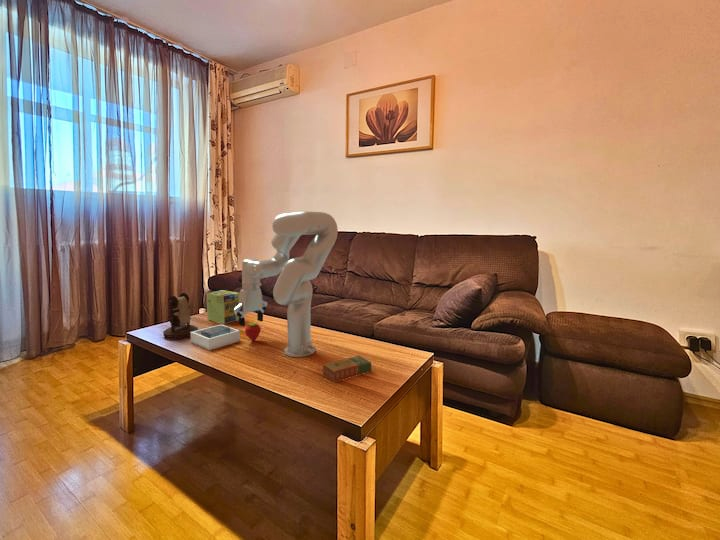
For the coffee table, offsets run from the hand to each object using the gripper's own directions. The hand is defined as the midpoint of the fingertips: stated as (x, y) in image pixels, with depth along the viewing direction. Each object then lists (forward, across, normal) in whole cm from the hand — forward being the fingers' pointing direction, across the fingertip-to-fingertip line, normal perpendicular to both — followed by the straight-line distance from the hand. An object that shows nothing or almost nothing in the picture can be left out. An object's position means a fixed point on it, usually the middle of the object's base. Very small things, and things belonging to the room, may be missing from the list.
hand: (251, 323), depth 157 cm
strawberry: (+8, 0, +1) cm, 9 cm away
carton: (+7, -1, +56) cm, 56 cm away
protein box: (+10, -11, -40) cm, 43 cm away
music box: (+10, +16, -33) cm, 38 cm away
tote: (+9, +11, -11) cm, 18 cm away
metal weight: (+8, +11, -11) cm, 17 cm away
